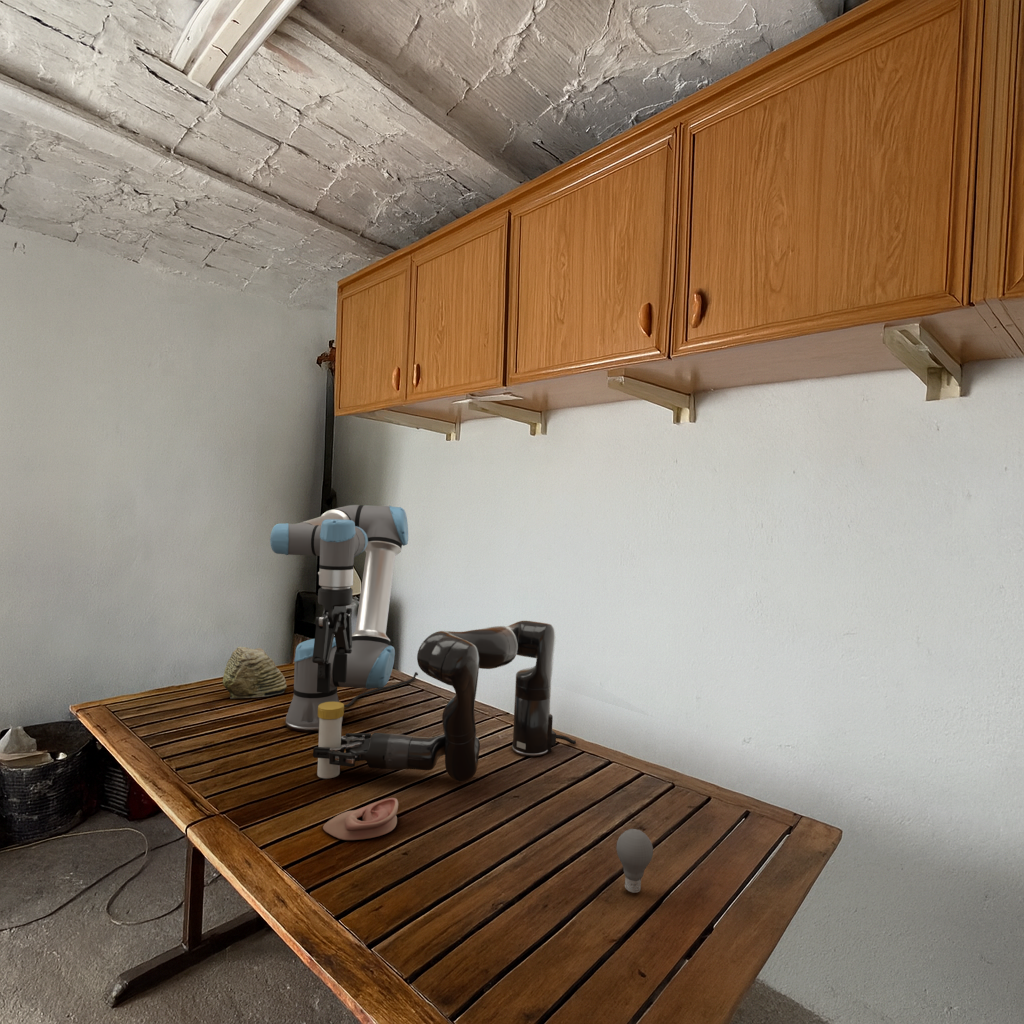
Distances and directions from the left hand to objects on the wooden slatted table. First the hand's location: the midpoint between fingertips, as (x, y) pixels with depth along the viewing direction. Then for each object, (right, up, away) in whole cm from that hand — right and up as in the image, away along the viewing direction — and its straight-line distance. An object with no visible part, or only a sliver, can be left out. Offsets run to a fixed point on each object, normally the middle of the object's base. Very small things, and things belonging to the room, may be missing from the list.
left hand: (331, 686), depth 145 cm
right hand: (-3, -14, 0) cm, 14 cm away
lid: (0, -5, 0) cm, 5 cm away
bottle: (-1, -20, 0) cm, 20 cm away
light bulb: (+61, -23, -39) cm, 76 cm away
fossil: (-39, -17, +54) cm, 69 cm away
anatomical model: (+12, -21, -22) cm, 33 cm away
